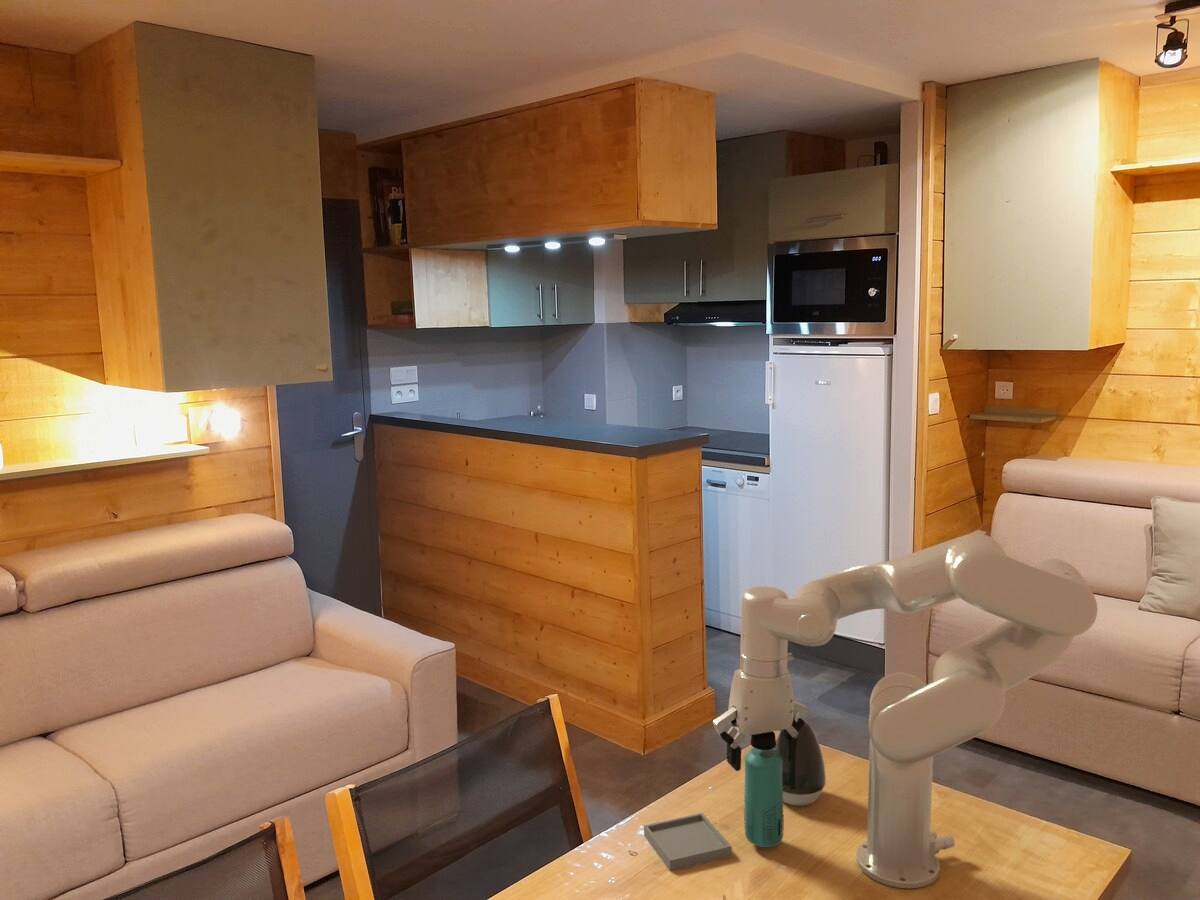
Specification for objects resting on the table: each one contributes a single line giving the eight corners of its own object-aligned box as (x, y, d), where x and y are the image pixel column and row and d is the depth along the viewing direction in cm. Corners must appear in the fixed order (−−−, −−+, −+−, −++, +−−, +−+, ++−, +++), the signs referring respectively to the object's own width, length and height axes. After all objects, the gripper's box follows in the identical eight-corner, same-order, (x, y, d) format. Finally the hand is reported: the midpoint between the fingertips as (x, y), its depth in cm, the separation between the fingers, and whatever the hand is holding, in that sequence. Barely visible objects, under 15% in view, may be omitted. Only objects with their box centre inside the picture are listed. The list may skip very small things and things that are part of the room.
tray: (702, 822, 162) (702, 812, 162) (731, 856, 152) (731, 846, 152) (644, 835, 159) (643, 825, 159) (670, 870, 149) (669, 860, 148)
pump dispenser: (781, 778, 177) (782, 703, 175) (833, 794, 171) (835, 716, 169) (757, 802, 169) (758, 723, 166) (811, 819, 163) (812, 737, 160)
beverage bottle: (783, 858, 151) (784, 742, 148) (742, 854, 153) (742, 739, 150) (783, 835, 158) (784, 725, 155) (744, 832, 159) (744, 722, 156)
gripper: (797, 649, 157) (794, 744, 160) (704, 662, 151) (703, 760, 154) (822, 665, 150) (818, 764, 153) (726, 679, 144) (723, 782, 147)
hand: (760, 762), depth 153 cm, fingers open, 9 cm apart
